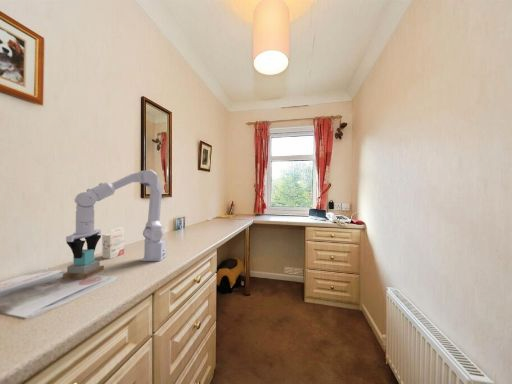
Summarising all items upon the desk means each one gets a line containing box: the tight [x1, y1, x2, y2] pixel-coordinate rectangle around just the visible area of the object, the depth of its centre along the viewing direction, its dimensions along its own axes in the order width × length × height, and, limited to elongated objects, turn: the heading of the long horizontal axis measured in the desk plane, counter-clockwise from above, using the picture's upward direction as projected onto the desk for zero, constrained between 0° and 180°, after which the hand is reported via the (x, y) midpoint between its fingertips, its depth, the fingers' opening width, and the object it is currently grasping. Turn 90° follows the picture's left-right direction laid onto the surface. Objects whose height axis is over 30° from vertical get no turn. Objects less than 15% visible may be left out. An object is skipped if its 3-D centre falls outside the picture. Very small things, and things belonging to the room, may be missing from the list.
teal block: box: [72, 248, 95, 266], centre depth 81 cm, size 4×4×5 cm
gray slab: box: [66, 260, 101, 274], centre depth 81 cm, size 7×7×2 cm
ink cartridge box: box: [101, 226, 125, 260], centre depth 104 cm, size 9×5×15 cm, turn 168°
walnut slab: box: [62, 265, 105, 279], centre depth 81 cm, size 9×9×2 cm
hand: (84, 255), depth 81 cm, fingers open, 6 cm apart
